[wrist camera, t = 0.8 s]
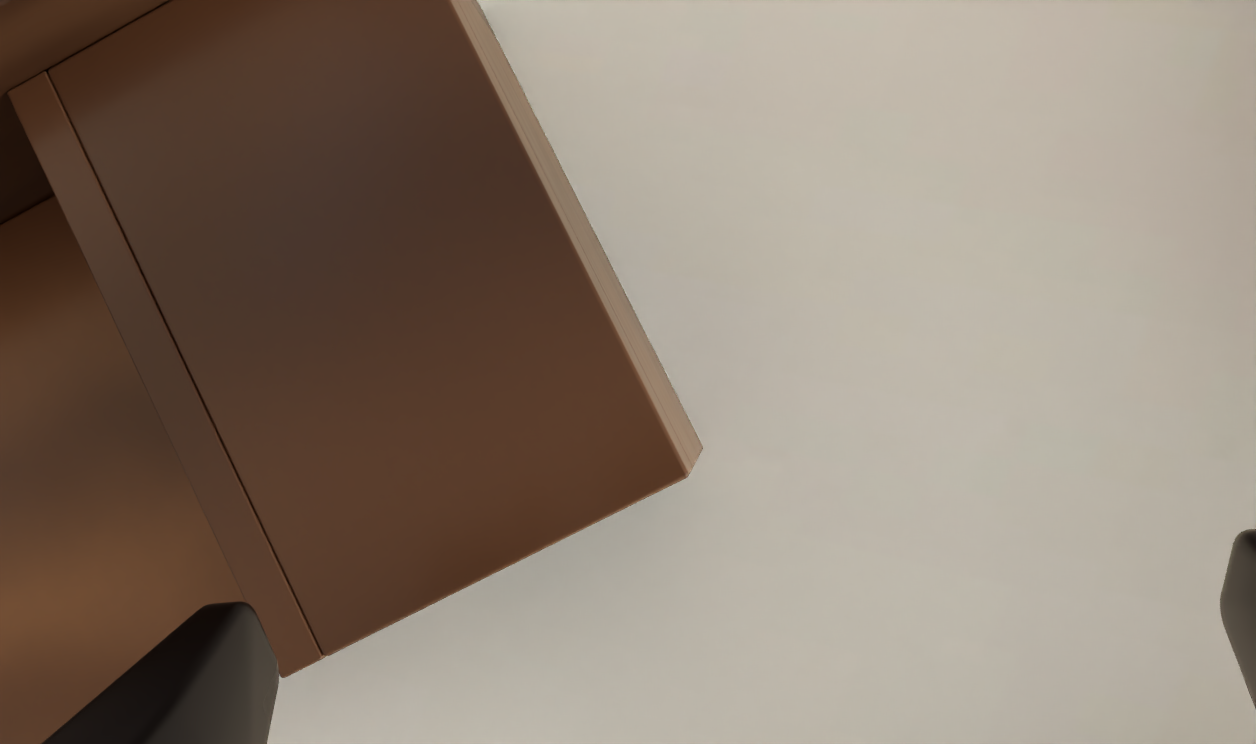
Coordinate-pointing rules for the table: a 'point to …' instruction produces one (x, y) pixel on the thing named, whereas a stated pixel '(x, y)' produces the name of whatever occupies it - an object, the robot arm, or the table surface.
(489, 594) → the table surface
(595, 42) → the table surface
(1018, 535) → the table surface
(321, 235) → the step shelf
